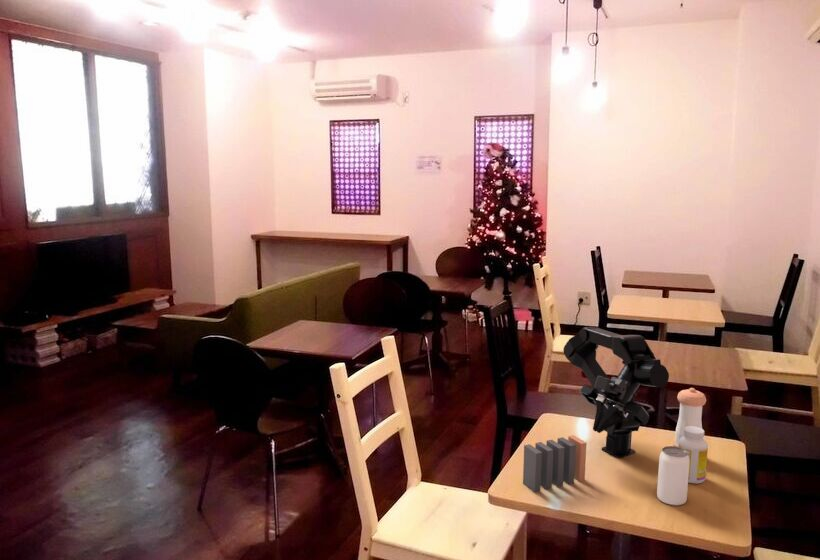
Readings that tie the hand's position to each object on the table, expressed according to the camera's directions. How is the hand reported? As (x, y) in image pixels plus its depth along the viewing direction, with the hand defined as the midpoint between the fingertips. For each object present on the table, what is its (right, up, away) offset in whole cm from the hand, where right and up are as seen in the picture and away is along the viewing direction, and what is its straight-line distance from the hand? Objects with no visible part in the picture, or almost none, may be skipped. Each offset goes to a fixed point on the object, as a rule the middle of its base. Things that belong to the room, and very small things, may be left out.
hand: (595, 431), depth 164 cm
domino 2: (-15, -12, -6) cm, 20 cm away
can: (+14, -13, -13) cm, 23 cm away
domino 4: (-9, -11, -3) cm, 15 cm away
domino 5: (-6, -11, -2) cm, 13 cm away
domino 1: (-18, -12, -7) cm, 22 cm away
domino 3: (-12, -12, -4) cm, 17 cm away
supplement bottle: (+23, -11, -2) cm, 26 cm away
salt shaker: (+27, -9, +9) cm, 30 cm away
